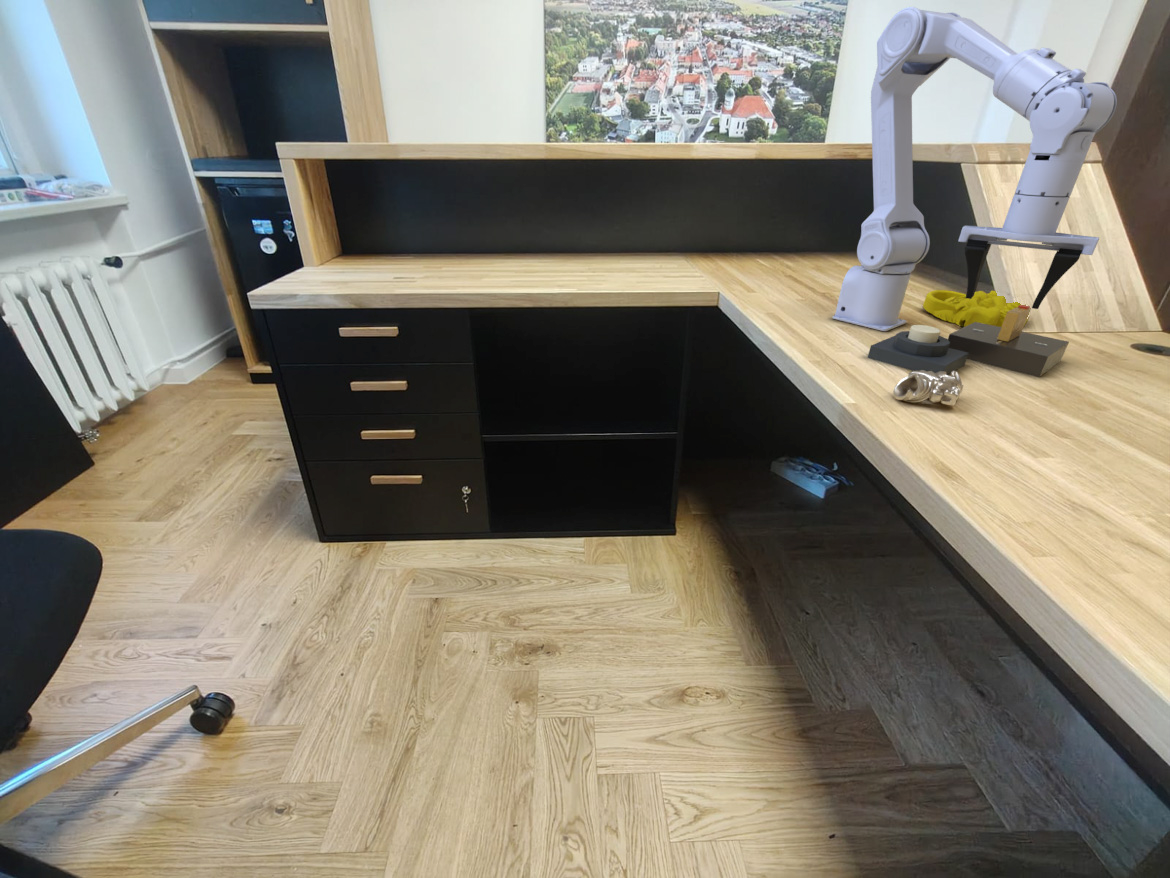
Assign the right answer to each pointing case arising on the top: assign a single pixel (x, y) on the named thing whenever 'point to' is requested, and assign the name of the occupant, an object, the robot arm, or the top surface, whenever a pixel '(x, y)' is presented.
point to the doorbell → (918, 354)
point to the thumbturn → (1014, 323)
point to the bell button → (924, 334)
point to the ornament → (929, 387)
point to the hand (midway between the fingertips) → (1001, 302)
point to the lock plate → (1008, 349)
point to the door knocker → (968, 307)
